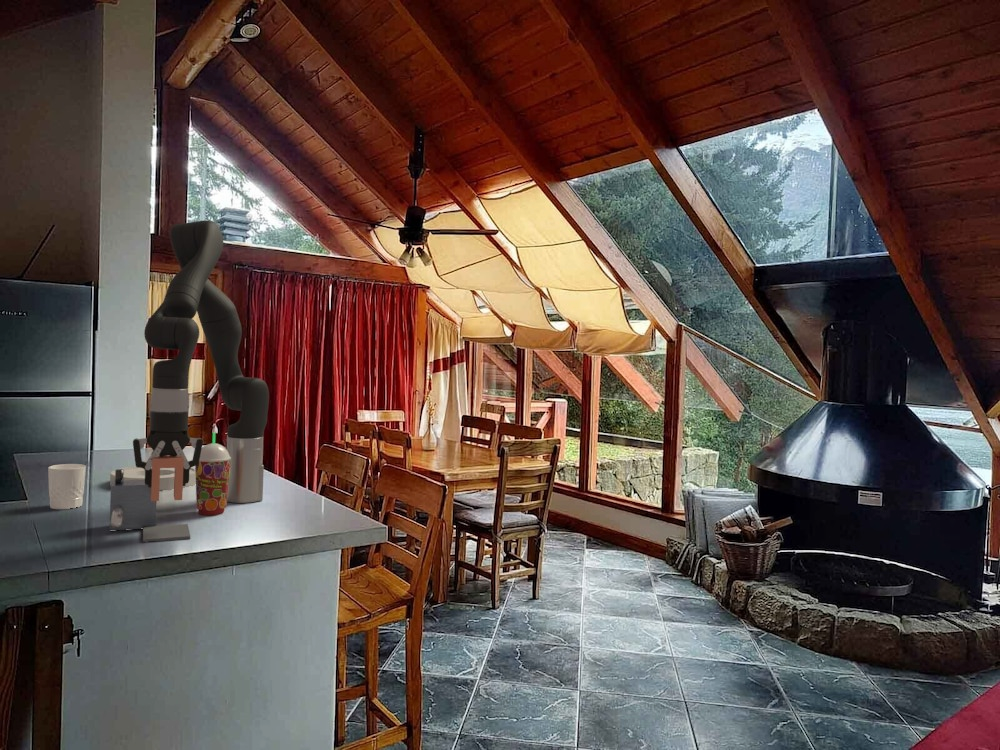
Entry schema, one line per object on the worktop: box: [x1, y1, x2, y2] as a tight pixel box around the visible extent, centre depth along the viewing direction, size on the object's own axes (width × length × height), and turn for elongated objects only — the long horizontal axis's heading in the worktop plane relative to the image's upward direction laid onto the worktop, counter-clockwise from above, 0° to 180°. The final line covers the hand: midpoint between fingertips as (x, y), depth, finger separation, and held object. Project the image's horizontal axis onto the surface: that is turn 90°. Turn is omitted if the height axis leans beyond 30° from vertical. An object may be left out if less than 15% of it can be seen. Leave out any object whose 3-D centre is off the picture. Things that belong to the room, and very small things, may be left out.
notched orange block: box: [151, 455, 184, 502], centre depth 149 cm, size 6×6×9 cm
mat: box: [142, 523, 191, 543], centre depth 149 cm, size 9×11×1 cm
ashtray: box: [109, 465, 196, 491], centre depth 202 cm, size 23×23×4 cm
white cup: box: [47, 463, 87, 510], centre depth 170 cm, size 8×8×10 cm
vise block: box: [109, 468, 158, 531], centre depth 149 cm, size 18×9×13 cm, turn 27°
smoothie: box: [194, 432, 231, 516], centre depth 170 cm, size 8×8×20 cm
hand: (166, 485), depth 149 cm, fingers closed on notched orange block, 6 cm apart
